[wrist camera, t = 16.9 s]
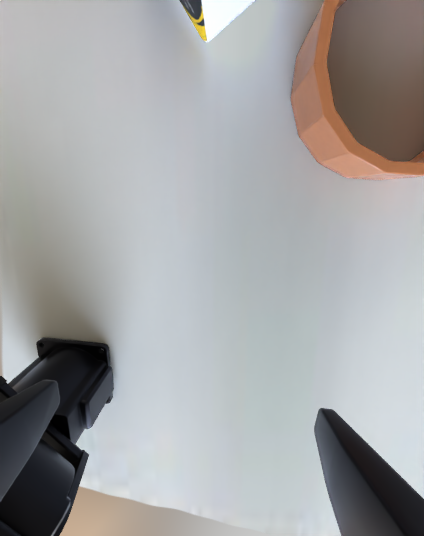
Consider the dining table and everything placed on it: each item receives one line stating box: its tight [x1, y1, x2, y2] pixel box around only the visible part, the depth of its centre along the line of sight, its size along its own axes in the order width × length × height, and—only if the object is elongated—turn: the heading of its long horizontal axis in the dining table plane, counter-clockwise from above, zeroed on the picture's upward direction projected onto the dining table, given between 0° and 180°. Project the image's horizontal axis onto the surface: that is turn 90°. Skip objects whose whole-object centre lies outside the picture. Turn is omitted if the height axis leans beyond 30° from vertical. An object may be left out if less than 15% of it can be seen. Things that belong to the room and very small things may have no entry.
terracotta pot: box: [291, 0, 424, 180], centre depth 13 cm, size 11×11×4 cm
